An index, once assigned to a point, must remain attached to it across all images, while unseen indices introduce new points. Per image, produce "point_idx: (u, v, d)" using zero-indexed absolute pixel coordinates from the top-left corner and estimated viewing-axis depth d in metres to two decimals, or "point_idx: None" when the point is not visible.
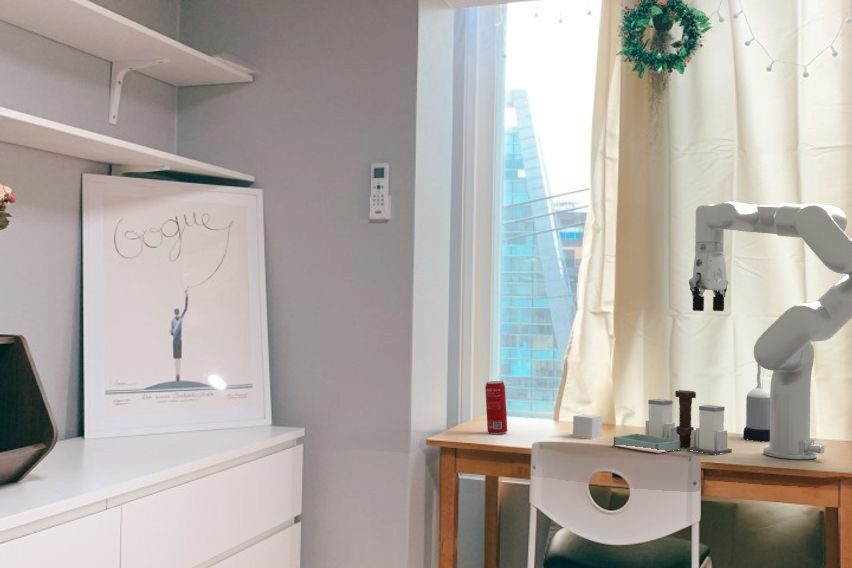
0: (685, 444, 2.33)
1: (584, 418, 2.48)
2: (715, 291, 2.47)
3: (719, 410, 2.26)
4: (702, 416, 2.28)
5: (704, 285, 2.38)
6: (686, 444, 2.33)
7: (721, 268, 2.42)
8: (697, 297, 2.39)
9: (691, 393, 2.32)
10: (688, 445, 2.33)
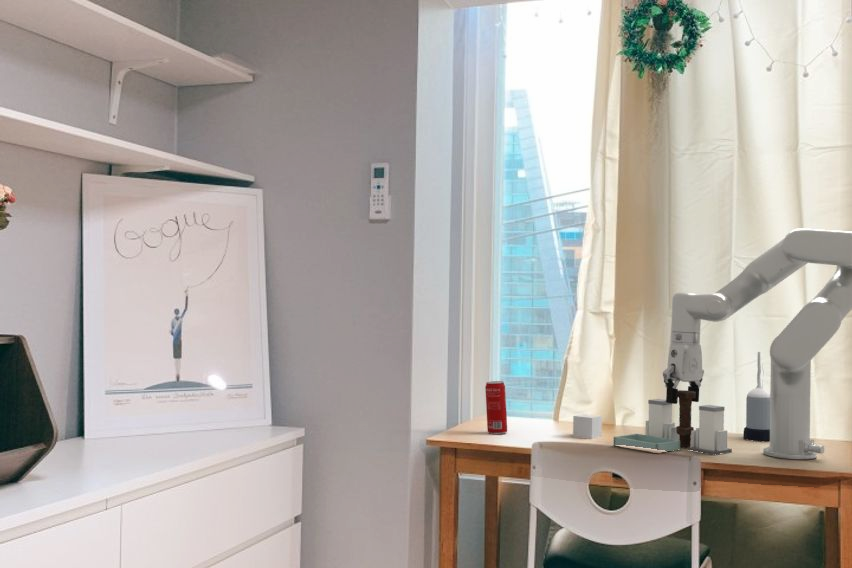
0: (685, 444, 2.33)
1: (584, 418, 2.48)
2: (690, 381, 2.38)
3: (719, 410, 2.26)
4: (702, 416, 2.28)
5: (678, 377, 2.30)
6: (686, 444, 2.33)
7: (697, 359, 2.34)
8: (671, 389, 2.31)
9: (691, 393, 2.32)
10: (688, 445, 2.33)
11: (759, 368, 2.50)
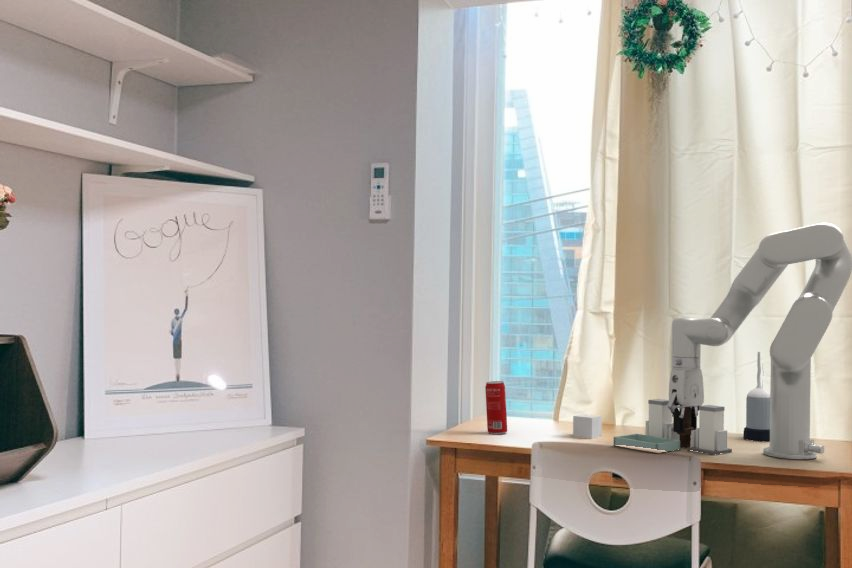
0: (685, 444, 2.33)
1: (584, 418, 2.48)
2: None
3: (719, 410, 2.26)
4: (702, 416, 2.28)
5: (680, 403, 2.30)
6: (686, 444, 2.33)
7: (698, 384, 2.33)
8: (678, 419, 2.32)
9: None
10: (688, 445, 2.33)
11: (759, 368, 2.50)
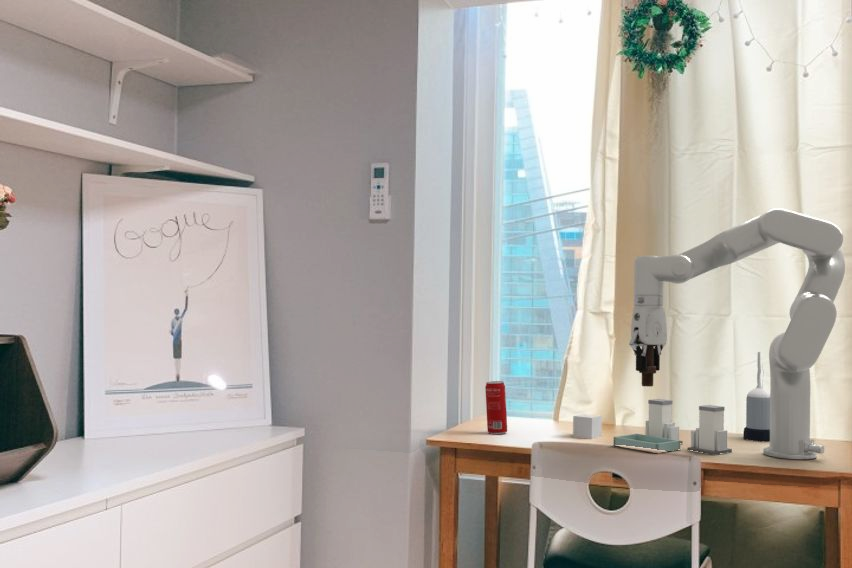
0: (647, 383, 2.31)
1: (584, 418, 2.47)
2: None
3: (719, 410, 2.26)
4: (702, 416, 2.28)
5: (642, 340, 2.28)
6: (648, 383, 2.31)
7: (660, 322, 2.31)
8: (640, 357, 2.30)
9: None
10: (650, 384, 2.31)
11: (759, 368, 2.50)
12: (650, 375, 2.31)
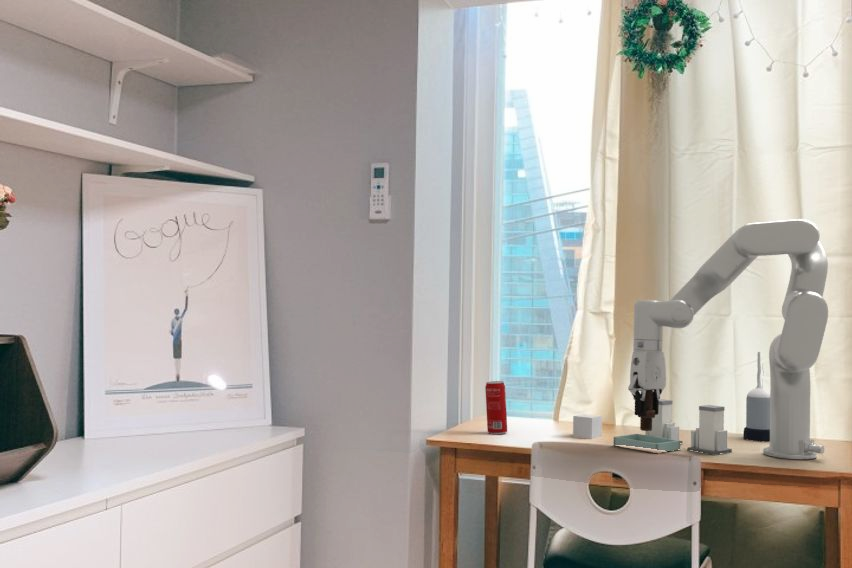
0: (646, 427, 2.31)
1: (584, 418, 2.47)
2: None
3: (719, 410, 2.26)
4: (702, 416, 2.28)
5: (641, 385, 2.27)
6: (647, 427, 2.30)
7: (660, 367, 2.31)
8: (639, 402, 2.29)
9: None
10: (649, 428, 2.31)
11: (759, 368, 2.50)
12: (649, 419, 2.31)
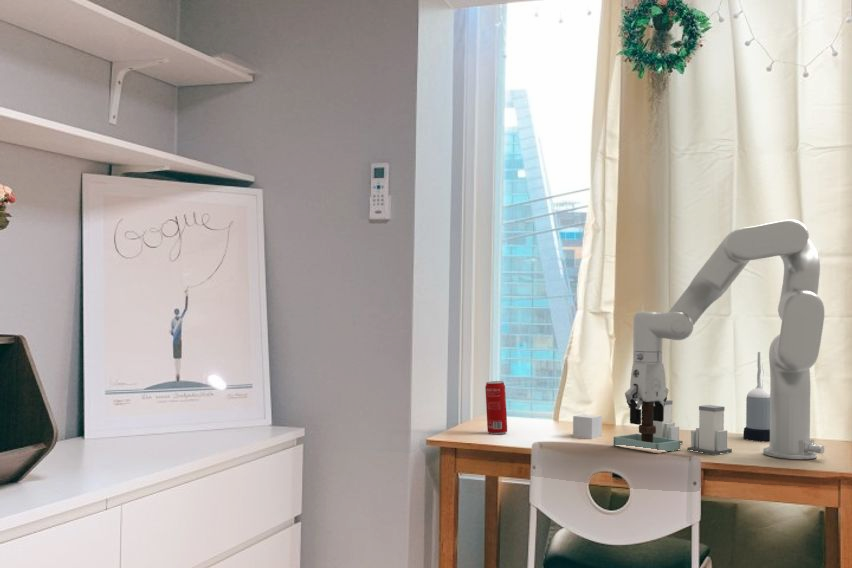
0: None
1: (584, 418, 2.47)
2: None
3: (719, 410, 2.26)
4: (702, 416, 2.28)
5: (641, 398, 2.27)
6: None
7: (659, 379, 2.31)
8: (634, 410, 2.28)
9: None
10: None
11: (759, 368, 2.50)
12: (650, 435, 2.30)
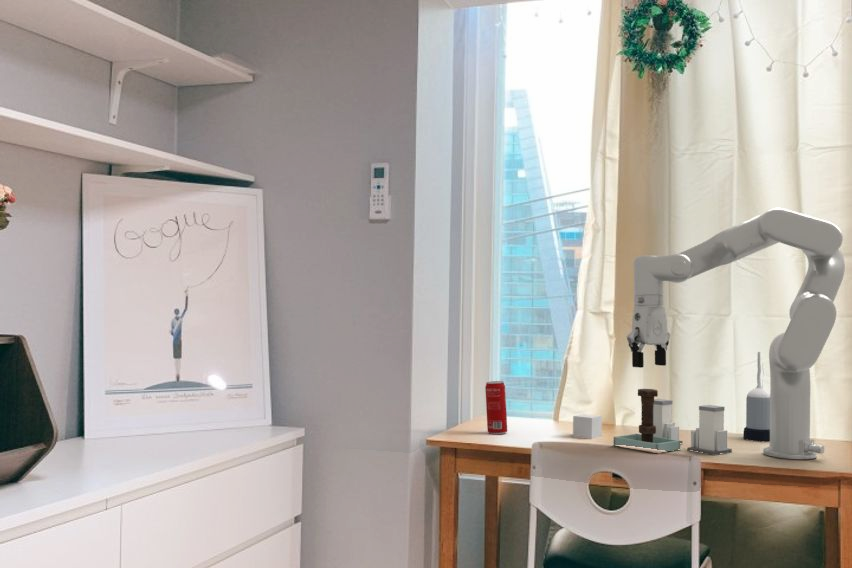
0: None
1: (584, 418, 2.47)
2: (657, 344, 2.36)
3: (719, 410, 2.26)
4: (702, 416, 2.28)
5: (643, 340, 2.28)
6: None
7: (661, 322, 2.31)
8: (636, 353, 2.28)
9: (653, 391, 2.30)
10: None
11: (759, 368, 2.50)
12: (650, 435, 2.30)
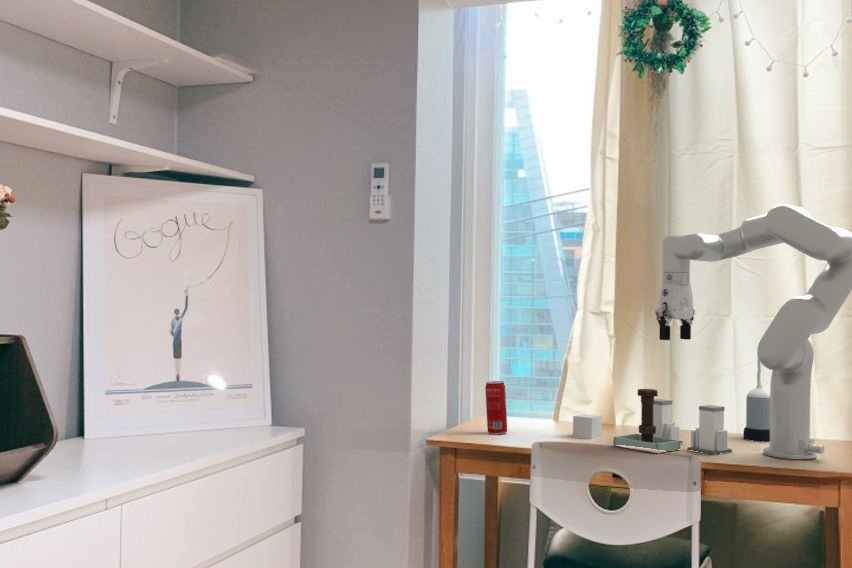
0: None
1: (584, 418, 2.47)
2: (682, 320, 2.50)
3: (719, 410, 2.26)
4: (702, 416, 2.28)
5: (670, 315, 2.42)
6: None
7: (687, 298, 2.46)
8: (663, 326, 2.43)
9: (653, 391, 2.30)
10: None
11: (759, 368, 2.50)
12: (650, 435, 2.30)
